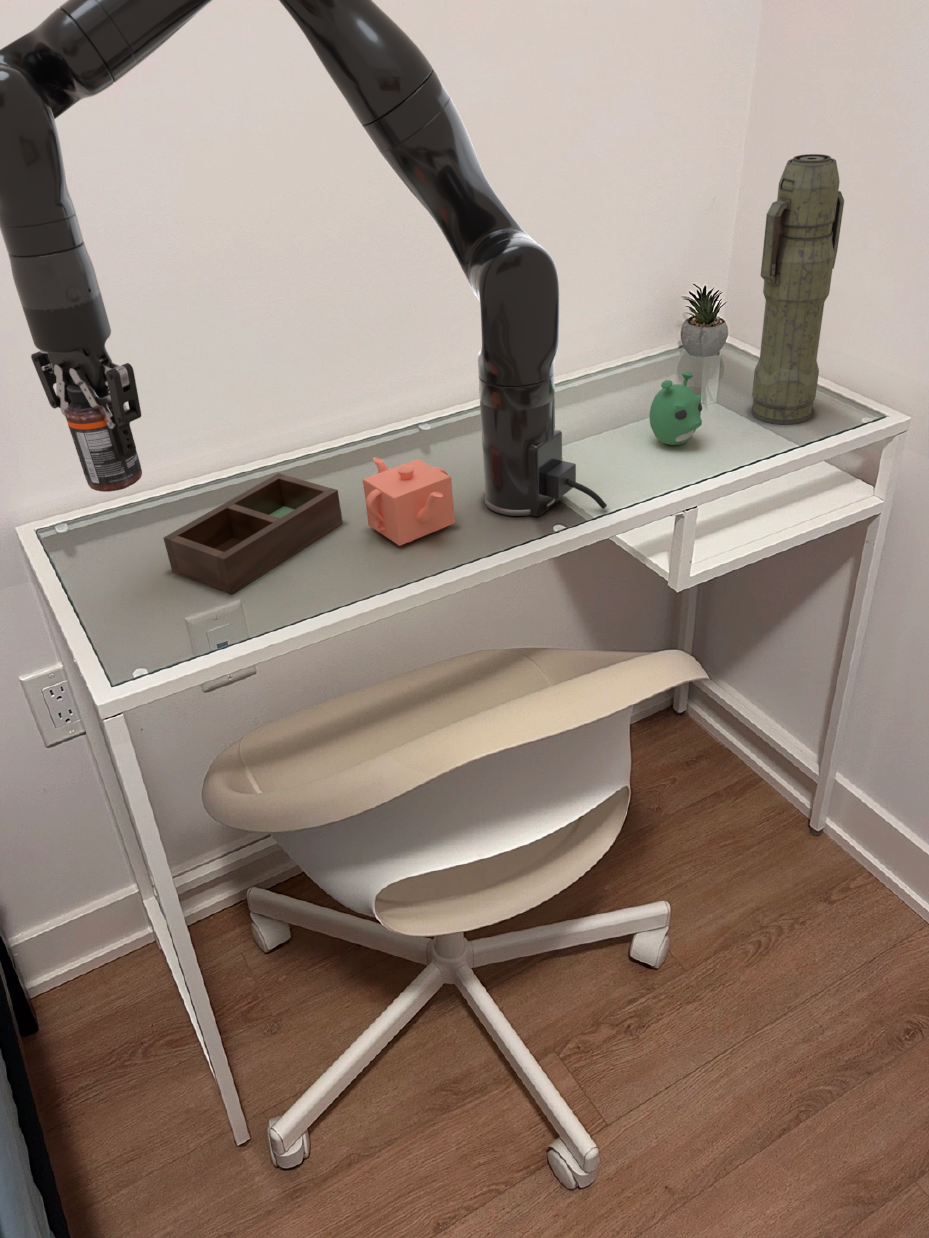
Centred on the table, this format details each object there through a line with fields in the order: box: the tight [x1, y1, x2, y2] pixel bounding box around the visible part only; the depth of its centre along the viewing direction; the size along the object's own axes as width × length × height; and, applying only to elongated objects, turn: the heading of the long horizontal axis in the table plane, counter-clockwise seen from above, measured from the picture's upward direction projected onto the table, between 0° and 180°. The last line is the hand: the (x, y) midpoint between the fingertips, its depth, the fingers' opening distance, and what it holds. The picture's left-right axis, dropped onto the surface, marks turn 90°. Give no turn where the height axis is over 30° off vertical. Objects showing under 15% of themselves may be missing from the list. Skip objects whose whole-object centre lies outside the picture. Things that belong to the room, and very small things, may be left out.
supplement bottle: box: [65, 385, 143, 493], centre depth 107 cm, size 6×6×11 cm
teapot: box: [362, 456, 456, 547], centre depth 125 cm, size 12×15×8 cm
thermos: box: [751, 153, 845, 425], centre depth 140 cm, size 9×12×35 cm
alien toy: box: [649, 370, 703, 446], centre depth 140 cm, size 7×8×10 cm
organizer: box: [162, 472, 344, 595], centre depth 124 cm, size 10×20×5 cm, turn 145°
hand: (107, 451), depth 108 cm, fingers closed on supplement bottle, 6 cm apart
